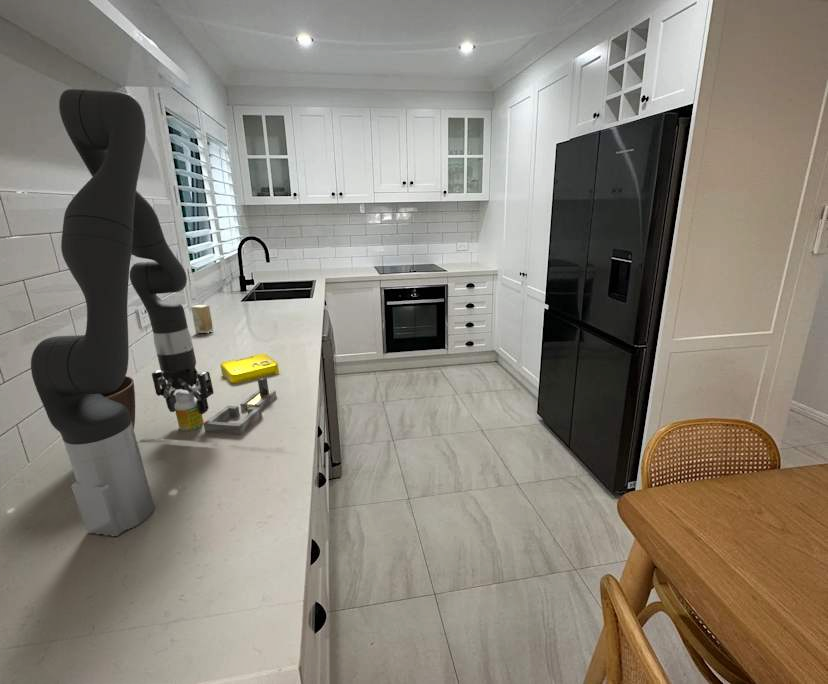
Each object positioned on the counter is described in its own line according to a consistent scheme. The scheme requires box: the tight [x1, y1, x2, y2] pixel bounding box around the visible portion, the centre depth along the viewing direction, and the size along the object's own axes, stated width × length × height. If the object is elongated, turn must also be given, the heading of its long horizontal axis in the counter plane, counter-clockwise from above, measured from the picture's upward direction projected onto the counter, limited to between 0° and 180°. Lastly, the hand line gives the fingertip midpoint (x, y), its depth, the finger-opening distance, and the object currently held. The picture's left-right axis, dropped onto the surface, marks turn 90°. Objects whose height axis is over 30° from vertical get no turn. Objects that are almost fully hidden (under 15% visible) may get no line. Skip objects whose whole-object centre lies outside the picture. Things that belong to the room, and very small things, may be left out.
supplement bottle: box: [174, 390, 205, 432], centre depth 103 cm, size 5×5×10 cm
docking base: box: [203, 389, 277, 436], centre depth 110 cm, size 24×13×3 cm, turn 169°
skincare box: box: [191, 304, 214, 334], centre depth 187 cm, size 6×4×12 cm
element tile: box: [220, 352, 280, 384], centre depth 138 cm, size 15×15×5 cm
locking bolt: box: [246, 376, 271, 410], centre depth 114 cm, size 8×2×6 cm, turn 169°
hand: (189, 411), depth 104 cm, fingers open, 7 cm apart
